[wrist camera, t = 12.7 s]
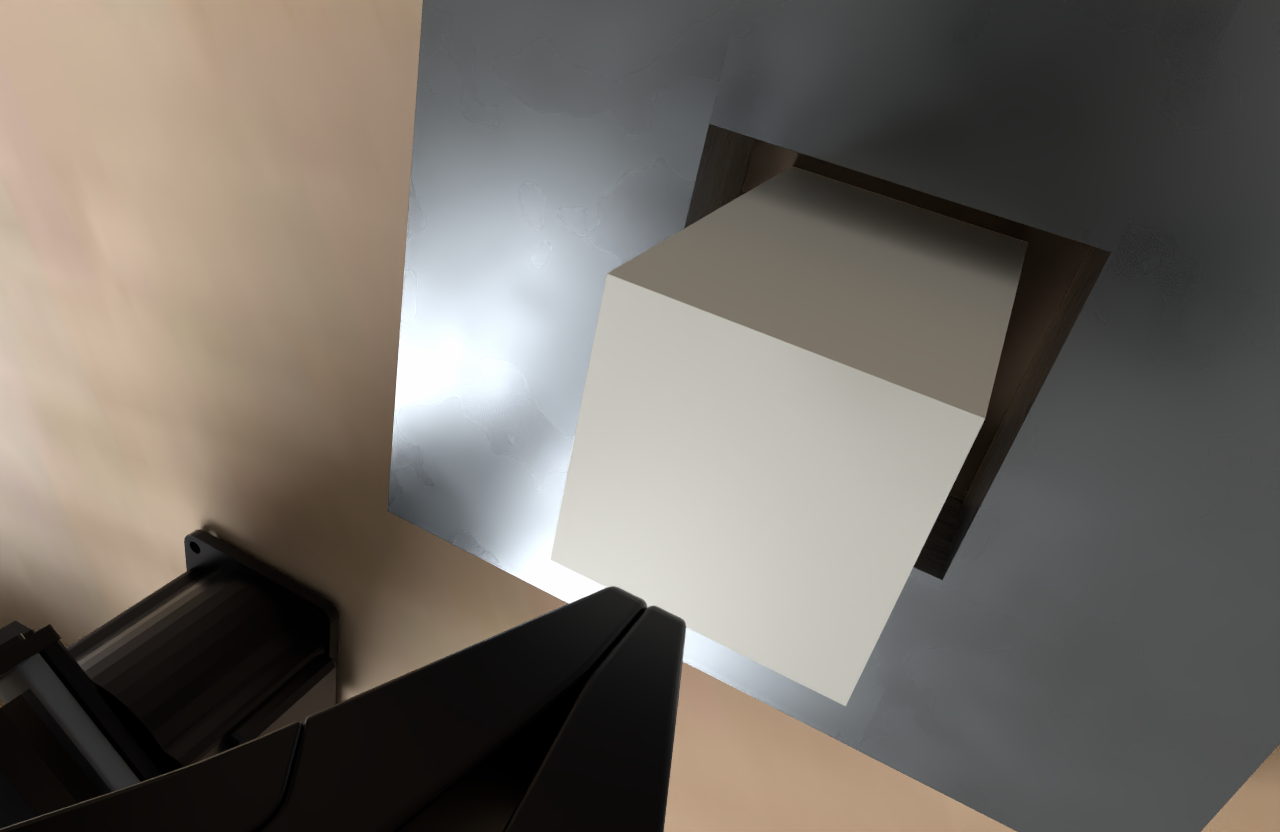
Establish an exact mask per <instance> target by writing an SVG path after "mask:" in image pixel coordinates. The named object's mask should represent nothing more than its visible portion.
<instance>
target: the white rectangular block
mask: <svg viewBox="0 0 1280 832" xmlns="http://www.w3.org/2000/svg"><path fill="white" fill-rule="evenodd" d="M1027 246H1028V242H1025V241H1022V240H1019V239H1016V238H1013V237H1010V236H1007V235H1004V234H1001V233H997V232H994V231H991V230H988V229H985V228H982V227H979V226H976V225H973V224H970V223H967V222H964V221H960V220H957V219H954V218H951V217H948V216H945V215H942V214H939V213H936V212H933V211H930V210H926V209H923V208H920V207H917V206H914V205H911V204H908V203H905V202H902V201H899V200H896V199H892V198H889V197H886V196H883V195H880V194H877V193H874V192H871V191H868V190H865V189H862V188H858V187H855V186H852V185H849V184H846V183H843V182H840V181H837V180H834V179H831V178H828V177H824V176H821V175H818V174H815V173H812V172H809V171H806V170H803V169H800V168H797V167H794V166H791V167H789V168H788V169H786V170H784V171H783V172H781V173H779V174H777V175H776V176H774V177H772V178H770V179H769V180H767V181H765V182H764V183H762V184H760V185H758V186H757V187H755V188H753V189H752V190H750V191H748V192H746V193H745V194H743V195H741V196H740V197H738V198H736V199H734V200H733V201H731V202H729V203H728V204H726V205H724V206H722V207H721V208H719V209H717V210H715V211H714V212H712V213H710V214H709V215H707V216H705V217H703V218H702V219H700V220H698V221H697V222H695V223H693V224H691V225H690V226H688V227H686V228H685V229H683V230H681V231H679V232H678V233H676V234H674V235H672V236H671V237H669V238H667V239H666V240H664V241H662V242H660V243H659V244H657V245H655V246H654V247H652V248H650V249H648V250H647V251H645V252H643V253H642V254H640V255H638V256H636V257H635V258H633V259H631V260H630V261H628V262H626V263H624V264H623V265H621V266H619V267H617V268H616V269H614V270H612V271H611V272H609V273H607V276H606V282H605V287H604V292H603V297H602V302H601V307H600V312H599V317H598V322H597V327H596V332H595V337H594V342H593V347H592V352H591V357H590V362H589V367H588V372H587V377H586V382H585V387H584V392H583V397H582V402H581V408H580V413H579V418H578V423H577V428H576V433H575V438H574V443H573V448H572V453H571V458H570V463H569V468H568V473H567V478H566V483H565V488H564V493H563V498H562V503H561V508H560V513H559V518H558V523H557V528H556V534H555V539H554V544H553V549H552V554H551V559H550V560H552V561H554V562H556V563H558V564H560V565H562V566H564V567H566V568H568V569H570V570H572V571H574V572H576V573H578V574H580V575H582V576H584V577H586V578H588V579H590V580H592V581H594V582H596V583H598V584H600V585H602V586H604V587H611V586H616V587H619V588H621V589H623V590H625V591H627V592H629V593H631V594H633V595H635V596H637V597H639V598H641V599H643V600H644V601H645V602H646V604H647V607H649V606H653V605H654V606H657V607H660V608H662V609H664V610H666V611H668V612H670V613H672V614H674V615H676V616H678V617H680V618H682V619H683V620H684V621H685V623H686V627H687V628H689V629H691V630H693V631H695V632H697V633H699V634H701V635H703V636H705V637H707V638H709V639H711V640H713V641H715V642H717V643H719V644H721V645H723V646H725V647H727V648H729V649H731V650H733V651H735V652H737V653H739V654H741V655H743V656H745V657H747V658H749V659H751V660H753V661H755V662H757V663H759V664H761V665H763V666H765V667H767V668H769V669H771V670H773V671H775V672H777V673H779V674H781V675H783V676H785V677H787V678H789V679H791V680H793V681H795V682H797V683H799V684H801V685H804V686H806V687H808V688H810V689H812V690H814V691H816V692H818V693H820V694H822V695H824V696H826V697H828V698H830V699H832V700H834V701H836V702H838V703H840V704H842V705H844V706H846V705H847V702H848V700H849V698H850V696H851V694H852V692H853V690H854V688H855V686H856V684H857V682H858V680H859V678H860V676H861V674H862V672H863V669H864V667H865V665H866V663H867V661H868V659H869V657H870V655H871V653H872V651H873V649H874V647H875V645H876V643H877V641H878V639H879V637H880V634H881V632H882V630H883V628H884V626H885V624H886V622H887V620H888V618H889V616H890V614H891V612H892V610H893V608H894V606H895V604H896V601H897V599H898V597H899V595H900V593H901V591H902V589H903V587H904V585H905V583H906V581H907V579H908V577H909V575H910V573H911V571H912V569H913V566H914V564H915V562H916V560H917V558H918V556H919V554H920V552H921V550H922V548H923V546H924V544H925V542H926V540H927V538H928V536H929V533H930V531H931V529H932V527H933V525H934V523H935V521H936V519H937V517H938V515H939V513H940V511H941V509H942V507H943V505H944V503H945V501H946V498H947V496H948V494H949V492H950V490H951V488H952V486H953V484H954V482H955V480H956V478H957V476H958V474H959V472H960V470H961V468H962V466H963V463H964V461H965V459H966V457H967V455H968V453H969V451H970V449H971V447H972V445H973V443H974V441H975V439H976V437H977V435H978V433H979V430H980V428H981V426H982V424H983V422H984V420H985V418H986V413H987V409H988V405H989V401H990V397H991V393H992V389H993V385H994V381H995V377H996V373H997V369H998V364H999V360H1000V356H1001V352H1002V348H1003V344H1004V340H1005V336H1006V332H1007V328H1008V324H1009V319H1010V315H1011V311H1012V307H1013V303H1014V299H1015V295H1016V291H1017V287H1018V283H1019V279H1020V275H1021V270H1022V266H1023V262H1024V258H1025V254H1026V250H1027Z"/></svg>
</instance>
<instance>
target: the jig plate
mask: <svg viewBox="0 0 1280 832" xmlns="http://www.w3.org/2000/svg"><path fill="white" fill-rule="evenodd" d="M755 139H758V140H761V141H764V142H768V143H771V144H774V145H777V146H780V147H783V148H786V149H790V150H793V151H796V152H799V153H802V154H805V155H808V156H811V157H815V158H818V159H821V160H824V161H827V162H830V163H833V164H837V165H840V166H843V167H846V168H849V169H852V170H855V171H858V172H862V173H865V174H868V175H871V176H874V177H877V178H880V179H884V180H887V181H890V182H893V183H896V184H899V185H902V186H906V187H909V188H912V189H915V190H918V191H921V192H924V193H927V194H931V195H934V196H937V197H940V198H943V199H946V200H949V201H953V202H956V203H959V204H962V205H965V206H968V207H971V208H975V209H978V210H981V211H984V212H987V213H990V214H993V215H996V216H1000V217H1003V218H1006V219H1009V220H1012V221H1015V222H1018V223H1022V224H1025V225H1028V226H1031V227H1034V228H1037V229H1040V230H1044V231H1047V232H1050V233H1053V234H1056V235H1059V236H1062V237H1065V238H1069V239H1072V240H1075V241H1078V242H1081V243H1084V244H1087V245H1090V246H1089V248H1088V250H1087V252H1086V254H1085V256H1084V258H1083V260H1082V262H1081V264H1080V266H1079V268H1078V270H1077V272H1076V274H1075V276H1074V278H1073V280H1072V282H1071V284H1070V286H1069V288H1068V290H1067V292H1066V294H1065V296H1064V298H1063V300H1062V302H1061V304H1060V306H1059V308H1058V310H1057V312H1056V314H1055V316H1054V318H1053V320H1052V322H1051V324H1050V326H1049V328H1048V330H1047V332H1046V334H1045V336H1044V338H1043V340H1042V342H1041V344H1040V346H1039V348H1038V350H1037V352H1036V354H1035V356H1034V358H1033V360H1032V362H1031V364H1030V366H1029V368H1028V370H1027V372H1026V374H1025V376H1024V378H1023V380H1022V382H1021V384H1020V386H1019V388H1018V390H1017V392H1016V394H1015V396H1014V398H1013V400H1012V402H1011V404H1010V406H1009V408H1008V410H1007V412H1006V414H1005V416H1004V418H1003V420H1002V422H1001V424H1000V426H999V428H998V430H997V432H996V434H995V436H994V438H993V440H992V442H991V444H990V446H989V448H988V450H987V452H986V454H985V456H984V458H983V460H982V462H981V464H980V466H979V468H978V470H977V472H976V474H975V476H974V478H973V480H972V482H971V484H970V486H969V488H968V490H967V492H966V495H965V497H964V499H963V501H959V500H957V499H955V498H952V497H950V496H947V498H946V501H945V503H944V505H943V507H942V509H941V511H940V513H939V515H938V517H937V519H936V521H935V523H934V525H933V527H932V529H931V531H930V533H929V536H928V538H927V540H926V542H925V544H924V546H923V548H922V550H921V552H920V554H919V556H918V558H917V560H916V562H915V564H914V566H913V569H912V571H911V573H910V575H909V577H908V579H907V581H906V583H905V585H904V587H903V589H902V591H901V593H900V595H899V597H898V599H897V601H896V604H895V606H894V608H893V610H892V612H891V614H890V616H889V618H888V620H887V622H886V624H885V626H884V628H883V630H882V632H881V634H880V637H879V639H878V641H877V643H876V645H875V647H874V649H873V651H872V653H871V655H870V657H869V659H868V661H867V663H866V665H865V667H864V669H863V672H862V674H861V676H860V678H859V680H858V682H857V684H856V686H855V688H854V690H853V692H852V694H851V696H850V698H849V700H848V702H847V705H846V706H844V705H842V704H840V703H838V702H836V701H834V700H832V699H830V698H828V697H826V696H824V695H822V694H820V693H818V692H816V691H814V690H812V689H810V688H808V687H806V686H804V685H801V684H799V683H797V682H795V681H793V680H791V679H789V678H787V677H785V676H783V675H781V674H779V673H777V672H775V671H773V670H771V669H769V668H767V667H765V666H763V665H761V664H759V663H757V662H755V661H753V660H751V659H749V658H747V657H745V656H743V655H741V654H739V653H737V652H735V651H733V650H731V649H729V648H727V647H725V646H723V645H721V644H719V643H717V642H715V641H713V640H711V639H709V638H707V637H705V636H703V635H701V634H699V633H697V632H695V631H693V630H691V629H689V628H687V627H686V635H685V644H684V653H683V662H685V663H687V664H689V665H691V666H693V667H695V668H697V669H699V670H701V671H703V672H705V673H707V674H709V675H711V676H713V677H715V678H717V679H718V680H720V681H722V682H724V683H726V684H728V685H730V686H732V687H734V688H736V689H738V690H740V691H742V692H744V693H746V694H748V695H750V696H752V697H754V698H756V699H758V700H760V701H762V702H764V703H766V704H768V705H770V706H772V707H774V708H775V709H777V710H779V711H781V712H783V713H785V714H787V715H789V716H791V717H793V718H795V719H797V720H799V721H801V722H803V723H805V724H807V725H809V726H811V727H813V728H815V729H817V730H819V731H821V732H823V733H825V734H827V735H829V736H831V737H833V738H834V739H836V740H838V741H840V742H842V743H844V744H846V745H848V746H850V747H852V748H854V749H856V750H858V751H860V752H862V753H864V754H866V755H868V756H870V757H872V758H874V759H876V760H878V761H880V762H882V763H884V764H886V765H888V766H890V767H892V768H893V769H895V770H897V771H899V772H901V773H903V774H905V775H907V776H909V777H911V778H913V779H915V780H917V781H919V782H921V783H923V784H925V785H927V786H929V787H931V788H933V789H935V790H937V791H939V792H941V793H943V794H945V795H947V796H949V797H951V798H952V799H954V800H956V801H958V802H960V803H962V804H964V805H966V806H968V807H970V808H972V809H974V810H976V811H978V812H980V813H982V814H984V815H986V816H988V817H990V818H992V819H994V820H996V821H998V822H1000V823H1002V824H1004V825H1006V826H1008V827H1010V828H1011V829H1013V830H1015V831H1017V832H1201V831H1202V830H1203V828H1204V827H1205V826H1206V825H1207V824H1208V823H1209V822H1210V821H1211V820H1212V818H1213V817H1214V816H1215V815H1216V814H1217V813H1218V812H1219V811H1220V809H1221V808H1222V807H1223V806H1224V805H1225V804H1226V803H1227V802H1228V801H1229V799H1230V798H1231V797H1232V796H1233V795H1234V794H1235V793H1236V792H1237V791H1238V789H1239V788H1240V787H1241V786H1242V785H1243V784H1244V783H1245V782H1246V781H1247V779H1248V778H1249V777H1250V776H1251V775H1252V774H1253V773H1254V772H1255V771H1256V769H1257V768H1258V767H1259V766H1260V765H1261V764H1262V763H1263V762H1264V761H1265V759H1266V758H1267V757H1268V756H1269V755H1270V754H1271V753H1272V752H1273V751H1274V749H1275V748H1276V747H1277V746H1278V745H1279V744H1280V0H423V9H422V24H421V38H420V52H419V67H418V81H417V95H416V110H415V124H414V138H413V153H412V167H411V181H410V196H409V210H408V224H407V239H406V253H405V267H404V282H403V296H402V310H401V325H400V339H399V353H398V368H397V382H396V396H395V411H394V425H393V439H392V454H391V468H390V482H389V497H388V512H390V513H392V514H394V515H396V516H398V517H400V518H402V519H404V520H406V521H408V522H410V523H412V524H414V525H416V526H418V527H420V528H422V529H423V530H425V531H427V532H429V533H431V534H433V535H435V536H437V537H439V538H441V539H443V540H445V541H447V542H449V543H451V544H453V545H455V546H457V547H459V548H461V549H463V550H465V551H467V552H469V553H471V554H473V555H475V556H477V557H479V558H481V559H482V560H484V561H486V562H488V563H490V564H492V565H494V566H496V567H498V568H500V569H502V570H504V571H506V572H508V573H510V574H512V575H514V576H516V577H518V578H520V579H522V580H524V581H526V582H528V583H530V584H532V585H534V586H536V587H538V588H540V589H541V590H543V591H545V592H547V593H549V594H551V595H553V596H555V597H557V598H559V599H561V600H563V601H565V602H567V603H572V602H574V601H576V600H579V599H581V598H583V597H586V596H588V595H590V594H592V593H595V592H597V591H599V590H602V589H604V588H606V587H604V586H602V585H600V584H598V583H596V582H594V581H592V580H590V579H588V578H586V577H584V576H582V575H580V574H578V573H576V572H574V571H572V570H570V569H568V568H566V567H564V566H562V565H560V564H558V563H556V562H554V561H552V560H550V559H551V554H552V549H553V544H554V539H555V534H556V528H557V523H558V518H559V513H560V508H561V503H562V498H563V493H564V488H565V483H566V478H567V473H568V468H569V463H570V458H571V453H572V448H573V443H574V438H575V433H576V428H577V423H578V418H579V413H580V408H581V402H582V397H583V392H584V387H585V382H586V377H587V372H588V367H589V362H590V357H591V352H592V347H593V342H594V337H595V332H596V327H597V322H598V317H599V312H600V307H601V302H602V297H603V292H604V287H605V282H606V276H607V273H609V272H611V271H612V270H614V269H616V268H617V267H619V266H621V265H623V264H624V263H626V262H628V261H630V260H631V259H633V258H635V257H636V256H638V255H640V254H642V253H643V252H645V251H647V250H648V249H650V248H652V247H654V246H655V245H657V244H659V243H660V242H662V241H664V240H666V239H667V238H669V237H671V236H672V235H674V234H676V233H678V232H679V231H681V230H683V229H685V228H686V227H688V226H690V225H691V224H693V223H695V222H697V221H698V220H700V219H702V218H703V217H705V216H707V215H709V214H710V213H712V212H714V211H715V210H717V209H719V208H721V207H722V206H724V205H726V204H728V203H729V202H731V201H733V200H734V199H736V198H738V197H740V194H741V190H742V187H743V183H744V179H745V176H746V172H747V168H748V165H749V161H750V157H751V153H752V150H753V146H754V142H755Z"/></svg>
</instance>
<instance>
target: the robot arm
mask: <svg viewBox="0 0 1280 832" xmlns="http://www.w3.org/2000/svg"><path fill="white" fill-rule="evenodd" d="M184 543H185V555H186V566H187V571H186V572H185V573H183V574H182V575H180V576H179V577H177V578H176V579H174V580H172V581H171V582H169V583H168V584H166V585H165V586H163V587H162V588H160V589H158V590H157V591H155V592H154V593H152V594H151V595H149V596H147V597H146V598H144V599H143V600H141V601H140V602H138V603H137V604H135V605H133V606H132V607H130V608H129V609H127V610H126V611H124V612H122V613H121V614H119V615H118V616H116V617H115V618H113V619H112V620H110V621H108V622H107V623H105V624H104V625H102V626H101V627H99V628H98V629H96V630H94V631H93V632H91V633H90V634H88V635H87V636H85V637H83V638H82V639H80V640H79V641H77V642H76V643H74V644H73V645H71V646H69V647H68V648H65V646H64V645H63V644H62V642H61V641H60V639H61V638H62V637H61V635H60V634H59V633H58V632H57V630H56V629H55V628H54V626H53V625H52V624H49V625H48V626H46V627H44V628H42V629H41V630H39V631H37V632H35V631H34V630H33V629H32V630H31V629H29V628H27V627H26V626H24V625H22V624H20V623H18V622H17V621H14V622H12V623H10V624H9V625H7V626H5V627H4V628H2V629H0V697H1V699H2V700H3V701H4V702H5V705H4V706H2V707H1V708H0V832H664V823H665V814H666V805H667V796H668V787H669V778H670V769H671V760H672V751H673V742H674V733H675V725H676V716H677V707H678V698H679V689H680V680H681V671H682V662H683V653H684V644H685V635H686V623H685V621H684V620H683V619H682V618H680V617H678V616H676V615H674V614H672V613H670V612H668V611H666V610H664V609H662V608H660V607H657V606H654V605H653V606H649V607H647V604H646V602H645V601H644V600H643V599H641V598H639V597H637V596H635V595H633V594H631V593H629V592H627V591H625V590H623V589H621V588H619V587H616V586H611V587H606V588H604V589H602V590H599V591H597V592H595V593H592V594H590V595H588V596H586V597H583V598H581V599H579V600H576V601H574V602H572V603H569V604H567V605H565V606H562V607H560V608H558V609H555V610H553V611H551V612H549V613H546V614H544V615H542V616H539V617H537V618H535V619H532V620H530V621H528V622H525V623H523V624H521V625H518V626H516V627H514V628H512V629H509V630H507V631H505V632H502V633H500V634H498V635H495V636H493V637H491V638H488V639H486V640H484V641H481V642H479V643H477V644H474V645H472V646H470V647H468V648H465V649H463V650H461V651H458V652H456V653H454V654H451V655H449V656H447V657H444V658H442V659H440V660H437V661H435V662H433V663H431V664H428V665H426V666H424V667H421V668H419V669H417V670H414V671H412V672H410V673H407V674H405V675H403V676H400V677H398V678H396V679H394V680H391V681H389V682H387V683H384V684H382V685H380V686H377V687H375V688H373V689H370V690H368V691H366V692H363V693H361V694H359V695H356V696H354V697H352V698H350V699H347V700H345V701H343V702H340V703H338V704H336V681H337V653H338V625H339V615H338V611H337V609H336V607H335V606H334V605H333V604H332V603H331V602H330V601H329V600H327V599H325V598H324V597H322V596H320V595H318V594H316V593H315V592H313V591H311V590H309V589H307V588H306V587H304V586H302V585H300V584H298V583H297V582H295V581H293V580H291V579H289V578H288V577H286V576H284V575H282V574H280V573H279V572H277V571H275V570H273V569H271V568H270V567H268V566H266V565H264V564H262V563H261V562H259V561H257V560H255V559H253V558H252V557H250V556H248V555H246V554H244V553H243V552H241V551H239V550H237V549H235V548H234V547H232V546H230V545H228V544H226V543H225V542H223V541H221V540H219V539H217V538H216V537H214V536H212V535H210V534H208V533H207V532H205V531H203V530H200V529H199V530H195V531H194V532H192V533H190V534H189V535H187V536H186V537H185V541H184Z"/></svg>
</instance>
